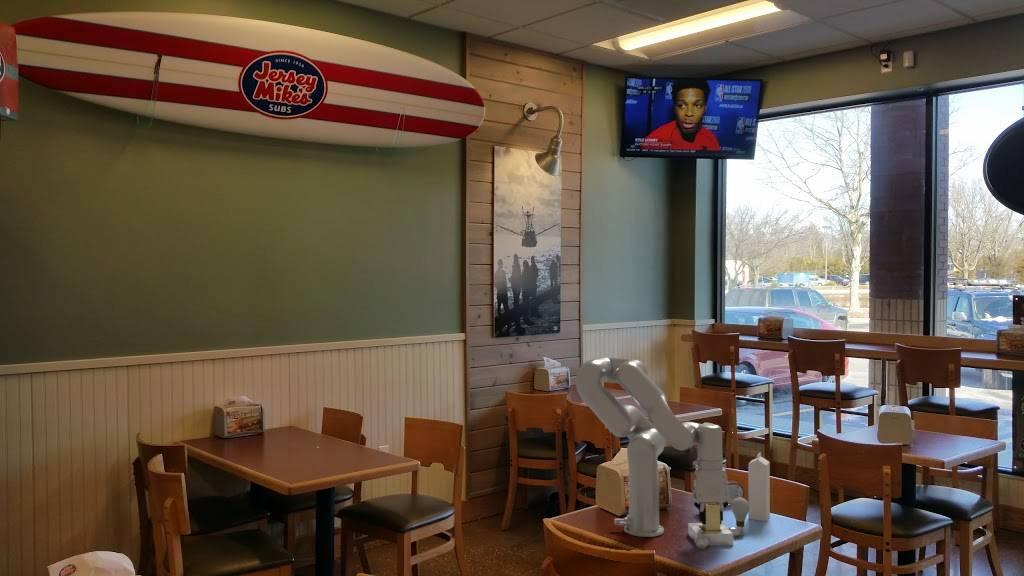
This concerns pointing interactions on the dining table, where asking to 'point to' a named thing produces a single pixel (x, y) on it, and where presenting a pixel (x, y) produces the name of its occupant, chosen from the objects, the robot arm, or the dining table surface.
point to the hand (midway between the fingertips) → (711, 522)
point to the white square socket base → (711, 534)
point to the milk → (759, 488)
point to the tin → (735, 489)
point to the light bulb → (740, 510)
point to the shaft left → (703, 542)
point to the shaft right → (737, 531)
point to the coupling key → (712, 517)
